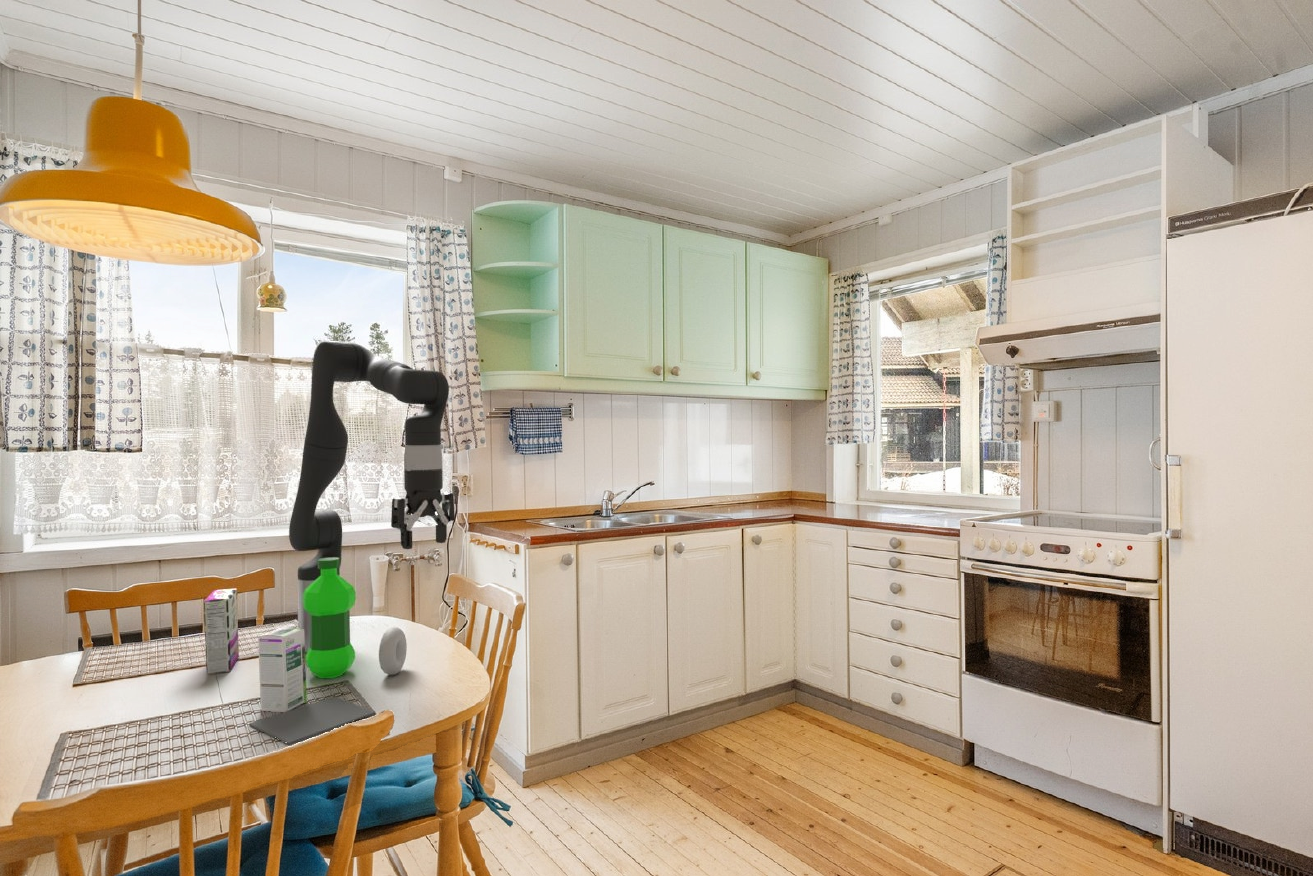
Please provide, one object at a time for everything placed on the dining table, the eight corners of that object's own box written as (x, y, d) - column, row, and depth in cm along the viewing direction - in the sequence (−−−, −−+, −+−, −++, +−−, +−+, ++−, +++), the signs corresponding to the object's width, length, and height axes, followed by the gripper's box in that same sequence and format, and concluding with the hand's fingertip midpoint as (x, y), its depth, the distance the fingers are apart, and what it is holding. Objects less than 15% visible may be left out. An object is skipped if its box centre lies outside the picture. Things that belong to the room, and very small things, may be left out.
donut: (394, 666, 161) (393, 621, 161) (409, 666, 161) (408, 621, 161) (376, 682, 151) (375, 634, 151) (392, 682, 151) (392, 634, 151)
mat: (249, 725, 129) (249, 723, 129) (334, 698, 142) (334, 696, 142) (288, 745, 121) (288, 742, 121) (375, 714, 133) (375, 711, 133)
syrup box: (286, 713, 134) (285, 636, 134) (259, 711, 136) (257, 634, 135) (307, 702, 140) (305, 627, 140) (280, 700, 141) (279, 626, 141)
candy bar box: (214, 660, 167) (213, 589, 167) (239, 657, 169) (237, 587, 168) (204, 675, 156) (202, 600, 156) (230, 672, 158) (229, 597, 158)
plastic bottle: (364, 666, 161) (362, 554, 161) (342, 683, 150) (340, 563, 150) (320, 666, 161) (318, 555, 161) (295, 683, 151) (292, 563, 150)
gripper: (438, 465, 156) (439, 539, 157) (382, 468, 144) (383, 549, 145) (462, 465, 152) (463, 542, 153) (406, 469, 140) (407, 552, 141)
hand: (424, 545), depth 149 cm, fingers open, 8 cm apart
